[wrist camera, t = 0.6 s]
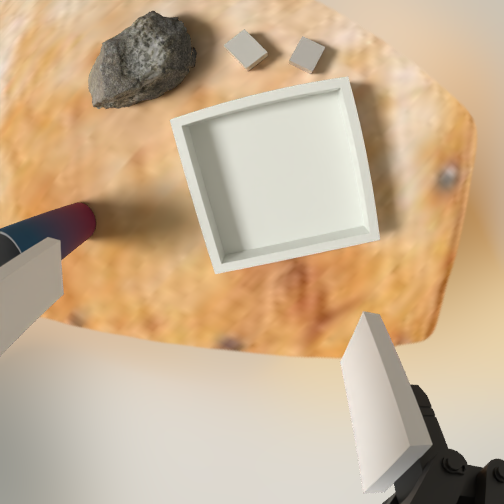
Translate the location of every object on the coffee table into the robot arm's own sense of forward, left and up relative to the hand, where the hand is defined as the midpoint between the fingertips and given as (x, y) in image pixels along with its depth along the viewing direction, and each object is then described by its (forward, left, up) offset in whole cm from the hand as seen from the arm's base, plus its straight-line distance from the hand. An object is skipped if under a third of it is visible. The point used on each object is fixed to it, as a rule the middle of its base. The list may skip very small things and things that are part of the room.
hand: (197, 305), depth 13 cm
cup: (-2, -22, -25) cm, 33 cm away
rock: (-17, -8, -25) cm, 31 cm away
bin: (-1, +4, -24) cm, 25 cm away
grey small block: (-15, +4, -25) cm, 29 cm away
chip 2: (-13, +10, -25) cm, 30 cm away
